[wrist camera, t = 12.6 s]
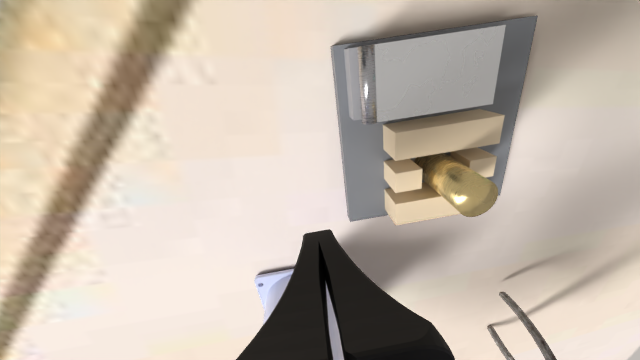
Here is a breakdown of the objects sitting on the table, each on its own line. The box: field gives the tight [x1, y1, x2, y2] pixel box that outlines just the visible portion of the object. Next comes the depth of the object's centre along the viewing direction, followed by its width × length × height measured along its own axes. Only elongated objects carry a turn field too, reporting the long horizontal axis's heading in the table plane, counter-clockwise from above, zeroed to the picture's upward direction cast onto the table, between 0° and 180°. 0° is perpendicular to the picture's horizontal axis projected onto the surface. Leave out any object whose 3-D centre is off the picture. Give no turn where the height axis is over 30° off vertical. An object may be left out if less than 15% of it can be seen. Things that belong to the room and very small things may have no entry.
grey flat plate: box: [357, 25, 506, 124], centre depth 15 cm, size 4×8×1 cm, turn 98°
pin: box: [414, 153, 498, 217], centre depth 18 cm, size 3×3×6 cm
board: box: [331, 16, 537, 226], centre depth 19 cm, size 14×14×4 cm
